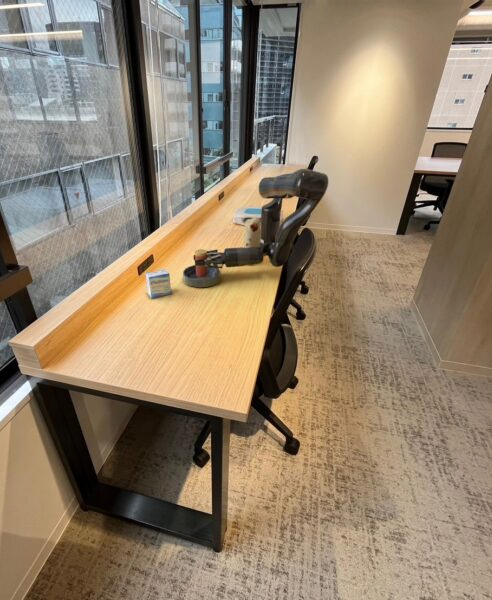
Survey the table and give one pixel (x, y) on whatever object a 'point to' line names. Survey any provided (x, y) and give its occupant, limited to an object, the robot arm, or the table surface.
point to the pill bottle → (202, 270)
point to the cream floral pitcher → (252, 233)
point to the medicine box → (158, 283)
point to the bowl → (196, 281)
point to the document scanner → (249, 214)
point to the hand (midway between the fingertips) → (194, 260)
